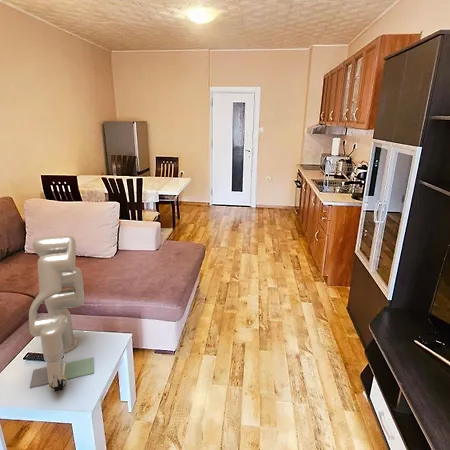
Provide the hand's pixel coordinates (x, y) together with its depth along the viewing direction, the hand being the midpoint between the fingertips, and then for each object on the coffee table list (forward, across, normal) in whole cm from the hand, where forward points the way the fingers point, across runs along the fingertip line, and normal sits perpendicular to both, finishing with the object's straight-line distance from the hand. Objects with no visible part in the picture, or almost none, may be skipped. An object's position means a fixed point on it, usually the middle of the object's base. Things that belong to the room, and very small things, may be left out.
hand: (59, 388), depth 141 cm
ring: (+1, 0, 0) cm, 1 cm away
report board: (+1, -11, +1) cm, 11 cm away
